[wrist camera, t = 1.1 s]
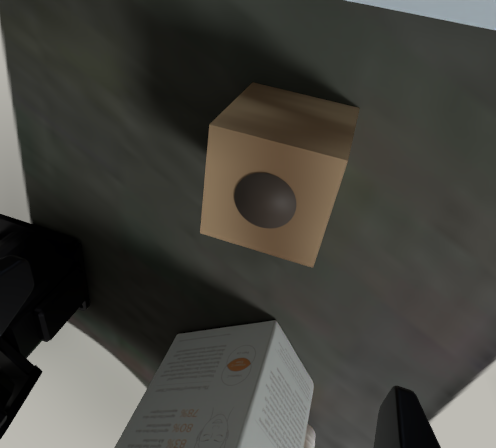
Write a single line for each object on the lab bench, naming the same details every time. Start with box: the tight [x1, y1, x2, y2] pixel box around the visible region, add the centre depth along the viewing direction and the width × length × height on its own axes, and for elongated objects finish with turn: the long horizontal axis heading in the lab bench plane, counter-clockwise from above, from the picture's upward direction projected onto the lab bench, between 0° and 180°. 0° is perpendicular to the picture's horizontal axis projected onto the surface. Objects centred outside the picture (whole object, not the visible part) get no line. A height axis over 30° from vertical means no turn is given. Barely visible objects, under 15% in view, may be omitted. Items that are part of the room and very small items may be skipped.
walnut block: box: [200, 82, 359, 268], centre depth 16 cm, size 4×4×5 cm
